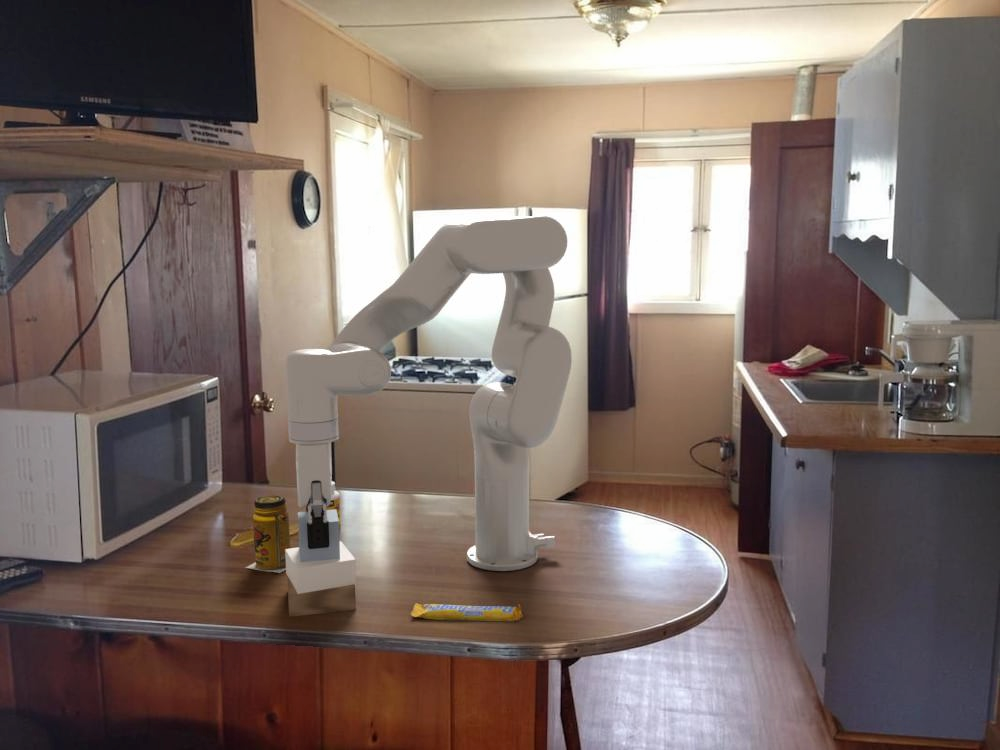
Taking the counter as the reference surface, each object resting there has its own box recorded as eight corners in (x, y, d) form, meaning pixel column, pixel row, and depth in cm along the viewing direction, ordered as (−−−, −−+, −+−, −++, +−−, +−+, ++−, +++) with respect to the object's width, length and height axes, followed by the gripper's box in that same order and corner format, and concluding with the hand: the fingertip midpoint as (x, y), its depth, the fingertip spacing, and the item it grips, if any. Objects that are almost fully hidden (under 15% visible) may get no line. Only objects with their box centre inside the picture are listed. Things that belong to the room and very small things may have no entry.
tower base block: (350, 586, 141) (349, 563, 141) (355, 611, 132) (355, 586, 131) (288, 593, 139) (287, 569, 138) (289, 618, 129) (288, 593, 129)
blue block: (337, 545, 138) (336, 509, 137) (339, 558, 132) (338, 521, 131) (299, 548, 136) (297, 512, 135) (300, 562, 131) (298, 524, 130)
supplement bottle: (321, 541, 162) (319, 489, 160) (306, 534, 166) (303, 483, 164) (346, 534, 166) (344, 483, 164) (330, 527, 170) (328, 477, 168)
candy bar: (523, 613, 131) (523, 602, 131) (522, 625, 127) (522, 613, 127) (414, 611, 132) (414, 599, 132) (410, 622, 128) (409, 610, 128)
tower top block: (341, 564, 140) (340, 540, 140) (356, 584, 132) (355, 559, 132) (286, 573, 137) (285, 549, 136) (297, 594, 129) (296, 568, 128)
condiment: (244, 568, 149) (241, 501, 147) (274, 552, 156) (271, 488, 155) (279, 574, 146) (276, 506, 144) (308, 557, 154) (305, 492, 152)
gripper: (288, 420, 139) (293, 521, 141) (288, 444, 122) (293, 558, 125) (335, 417, 140) (339, 518, 143) (341, 441, 124) (345, 554, 126)
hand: (317, 537), depth 134 cm, fingers open, 9 cm apart
